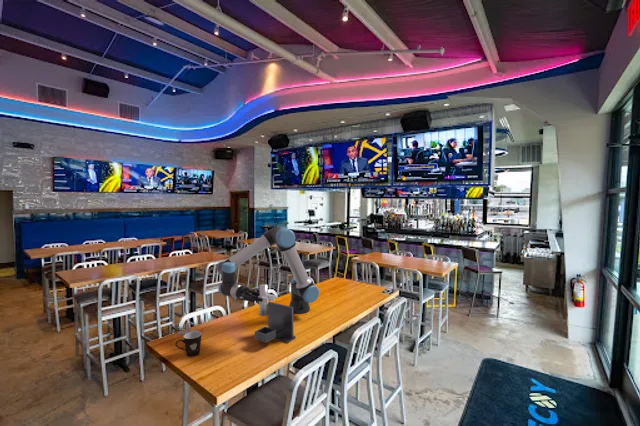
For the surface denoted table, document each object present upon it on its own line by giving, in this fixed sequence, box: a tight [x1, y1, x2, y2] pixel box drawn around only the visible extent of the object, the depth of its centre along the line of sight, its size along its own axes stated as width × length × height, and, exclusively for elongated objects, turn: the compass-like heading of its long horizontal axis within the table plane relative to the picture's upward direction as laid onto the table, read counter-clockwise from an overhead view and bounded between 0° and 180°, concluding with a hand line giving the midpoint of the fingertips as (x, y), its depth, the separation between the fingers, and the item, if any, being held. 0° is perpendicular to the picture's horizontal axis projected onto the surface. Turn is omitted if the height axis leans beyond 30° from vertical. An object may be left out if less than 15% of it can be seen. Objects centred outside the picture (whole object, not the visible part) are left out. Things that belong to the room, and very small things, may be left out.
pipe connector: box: [177, 322, 198, 336], centre depth 172 cm, size 10×10×10 cm
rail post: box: [258, 283, 269, 317], centre depth 166 cm, size 4×4×16 cm
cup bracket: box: [254, 301, 297, 344], centre depth 171 cm, size 19×18×19 cm
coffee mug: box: [175, 330, 203, 358], centre depth 158 cm, size 12×9×10 cm
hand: (271, 299), depth 163 cm, fingers closed on rail post, 4 cm apart
